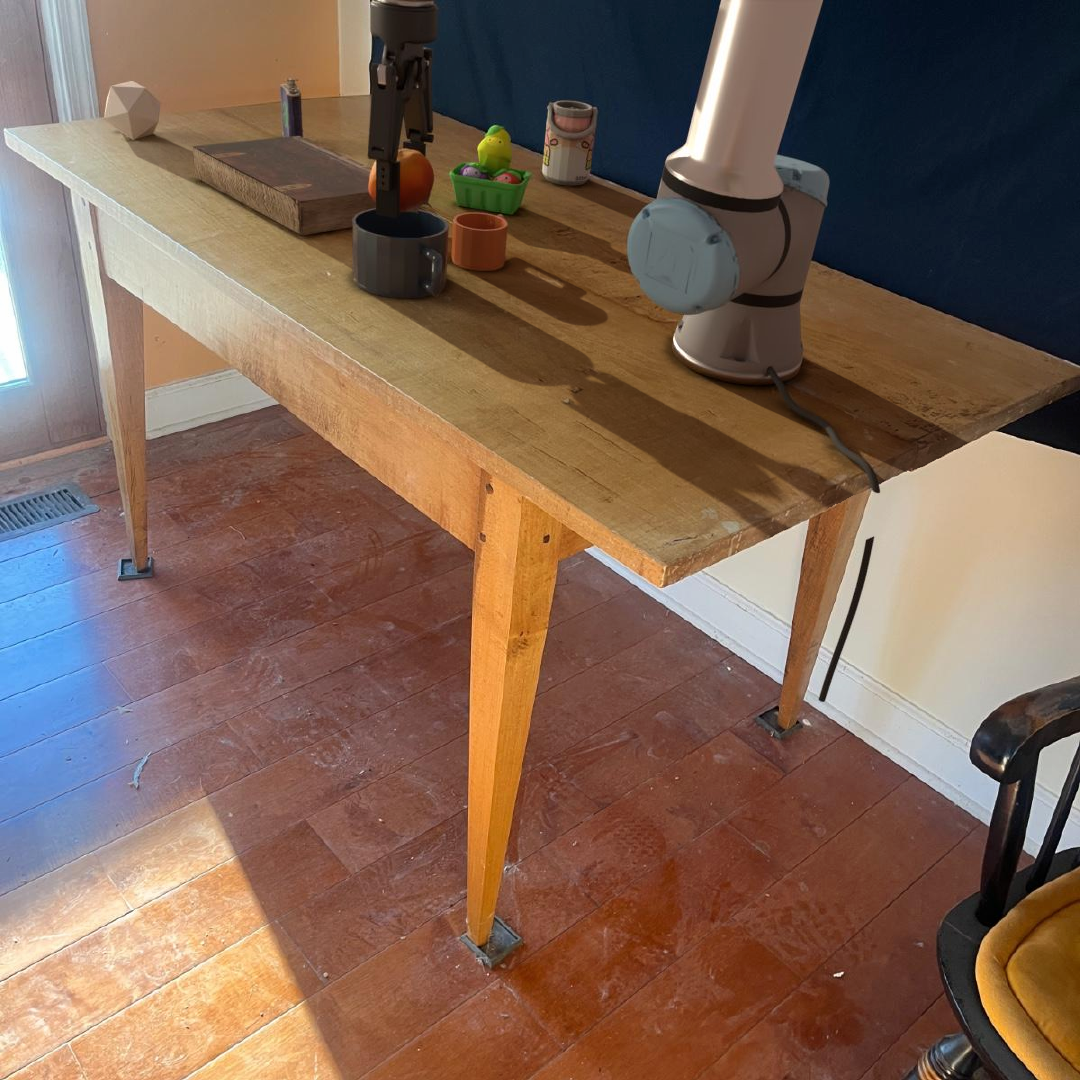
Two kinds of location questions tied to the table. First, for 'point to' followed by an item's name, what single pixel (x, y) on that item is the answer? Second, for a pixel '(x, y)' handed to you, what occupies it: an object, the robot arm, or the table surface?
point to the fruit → (410, 180)
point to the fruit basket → (491, 177)
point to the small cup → (479, 241)
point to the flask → (291, 109)
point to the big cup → (400, 253)
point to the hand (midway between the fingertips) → (400, 205)
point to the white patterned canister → (569, 142)
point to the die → (132, 110)
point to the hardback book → (288, 181)
